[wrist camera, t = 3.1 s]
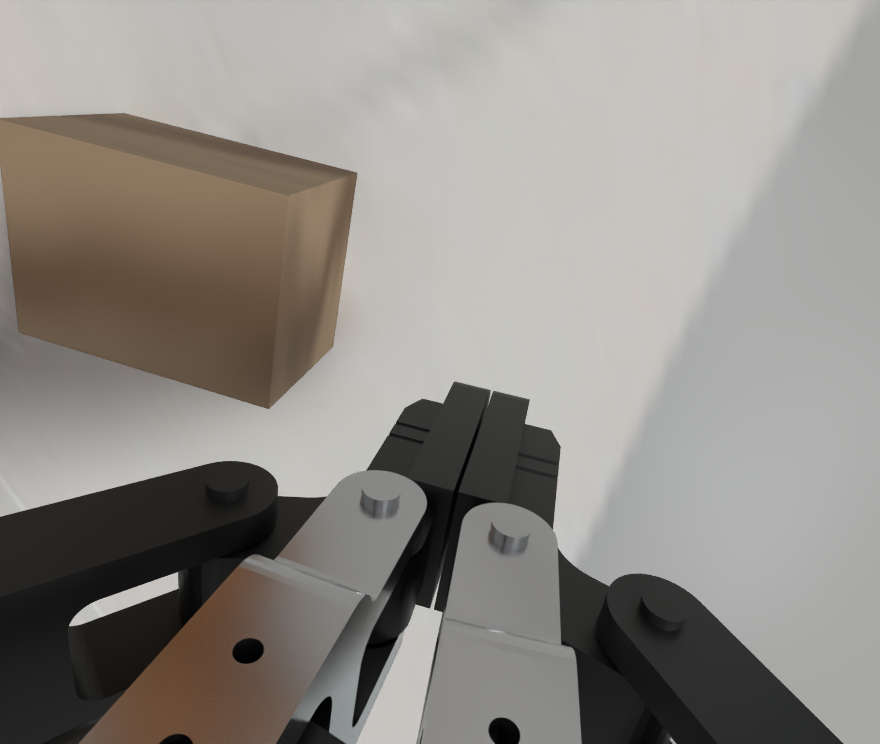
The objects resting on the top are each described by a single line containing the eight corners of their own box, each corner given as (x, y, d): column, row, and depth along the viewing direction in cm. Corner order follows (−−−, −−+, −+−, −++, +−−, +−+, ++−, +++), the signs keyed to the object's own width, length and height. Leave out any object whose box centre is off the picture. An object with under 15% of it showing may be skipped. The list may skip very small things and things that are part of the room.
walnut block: (127, 113, 20) (-5, 118, 16) (359, 172, 19) (288, 195, 15) (131, 285, 23) (19, 332, 18) (334, 344, 22) (268, 408, 17)
